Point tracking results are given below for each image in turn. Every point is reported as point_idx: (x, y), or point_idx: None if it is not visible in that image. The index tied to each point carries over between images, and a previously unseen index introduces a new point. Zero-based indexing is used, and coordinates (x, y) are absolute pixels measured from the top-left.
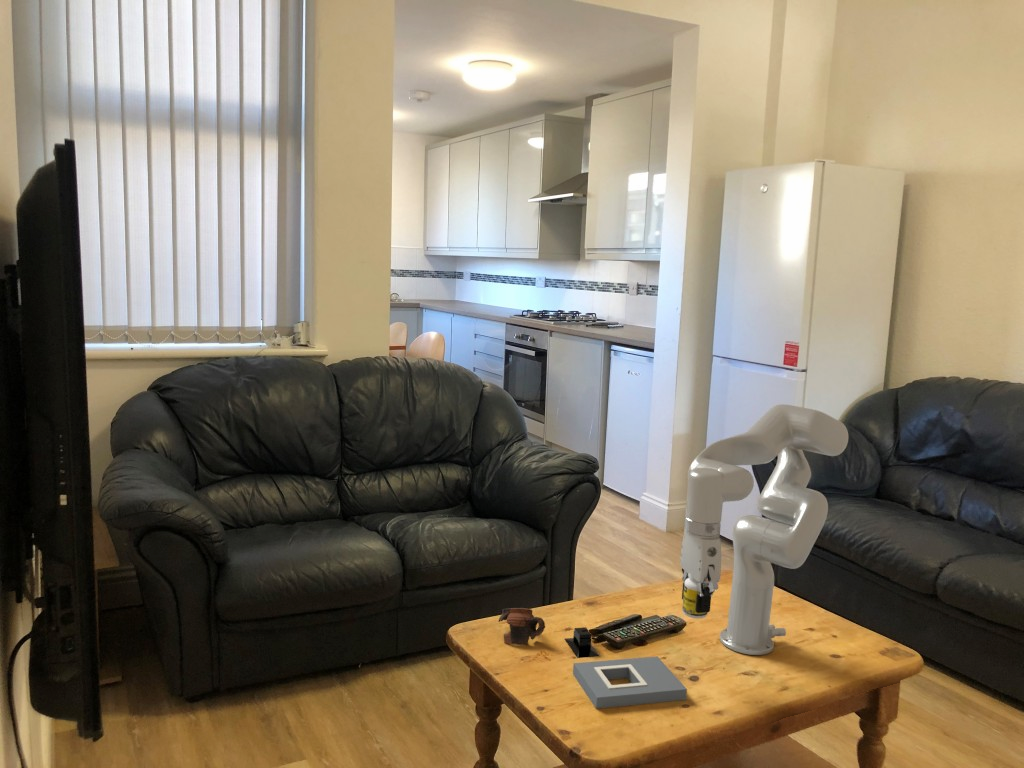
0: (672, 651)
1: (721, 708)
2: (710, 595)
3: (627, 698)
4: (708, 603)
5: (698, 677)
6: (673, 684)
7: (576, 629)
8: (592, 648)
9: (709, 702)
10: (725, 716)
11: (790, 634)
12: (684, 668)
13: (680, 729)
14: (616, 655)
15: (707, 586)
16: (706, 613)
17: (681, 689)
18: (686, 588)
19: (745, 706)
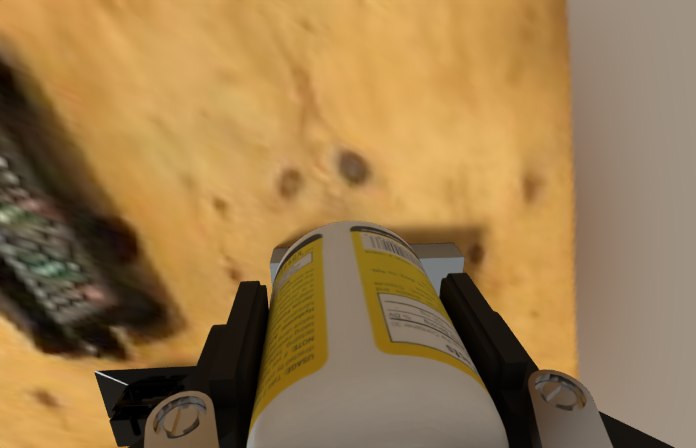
0: (177, 159)
1: (518, 168)
2: (561, 388)
3: None
4: (516, 341)
5: (352, 152)
6: (432, 281)
7: (127, 444)
8: (166, 373)
9: (482, 186)
10: (553, 177)
11: None
12: (293, 171)
13: (555, 303)
14: (204, 328)
15: (502, 435)
16: (415, 254)
17: (461, 271)
18: None
19: (534, 89)
